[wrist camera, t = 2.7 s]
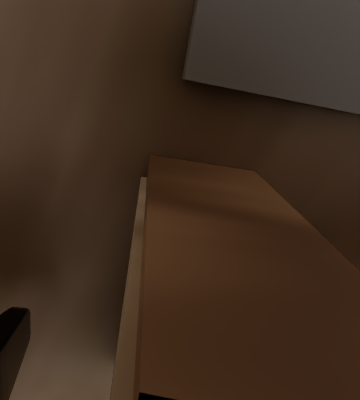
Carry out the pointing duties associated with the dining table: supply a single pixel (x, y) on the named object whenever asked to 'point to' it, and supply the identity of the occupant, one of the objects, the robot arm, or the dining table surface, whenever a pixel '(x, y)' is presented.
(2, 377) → the robot arm
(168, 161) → the walnut slab
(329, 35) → the rubber mat
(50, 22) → the dining table surface
